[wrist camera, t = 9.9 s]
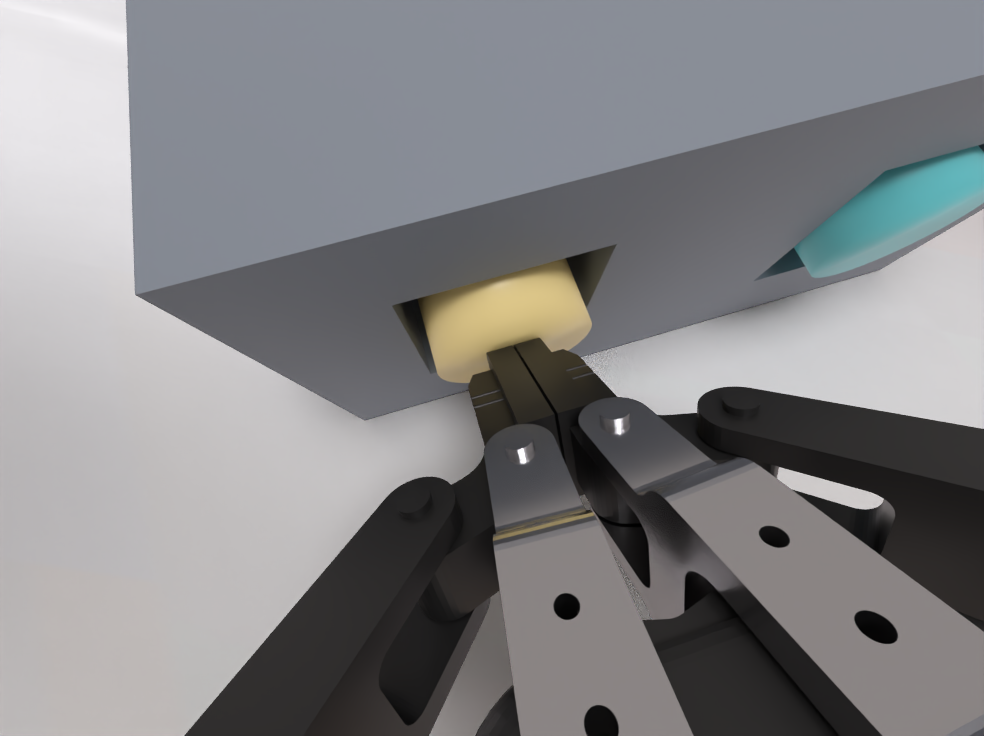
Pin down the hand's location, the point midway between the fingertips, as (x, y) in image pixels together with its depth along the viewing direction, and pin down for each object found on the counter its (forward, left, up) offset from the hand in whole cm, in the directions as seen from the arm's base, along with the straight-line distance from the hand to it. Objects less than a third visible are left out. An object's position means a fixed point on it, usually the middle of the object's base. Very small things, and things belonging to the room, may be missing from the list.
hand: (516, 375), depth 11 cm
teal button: (+4, +12, -2) cm, 12 cm away
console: (-2, +8, -6) cm, 10 cm away
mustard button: (-2, +1, -2) cm, 3 cm away
